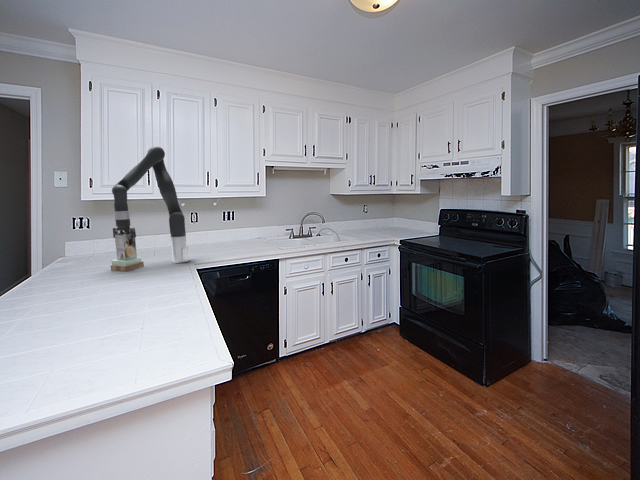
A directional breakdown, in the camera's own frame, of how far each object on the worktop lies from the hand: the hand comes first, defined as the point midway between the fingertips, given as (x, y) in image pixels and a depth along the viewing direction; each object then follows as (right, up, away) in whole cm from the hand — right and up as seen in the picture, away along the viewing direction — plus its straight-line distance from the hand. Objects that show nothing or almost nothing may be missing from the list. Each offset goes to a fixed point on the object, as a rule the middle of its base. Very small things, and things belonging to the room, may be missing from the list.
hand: (125, 244), depth 197 cm
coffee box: (0, -9, +2) cm, 9 cm away
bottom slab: (0, -15, +3) cm, 15 cm away
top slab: (-1, -12, +2) cm, 12 cm away
